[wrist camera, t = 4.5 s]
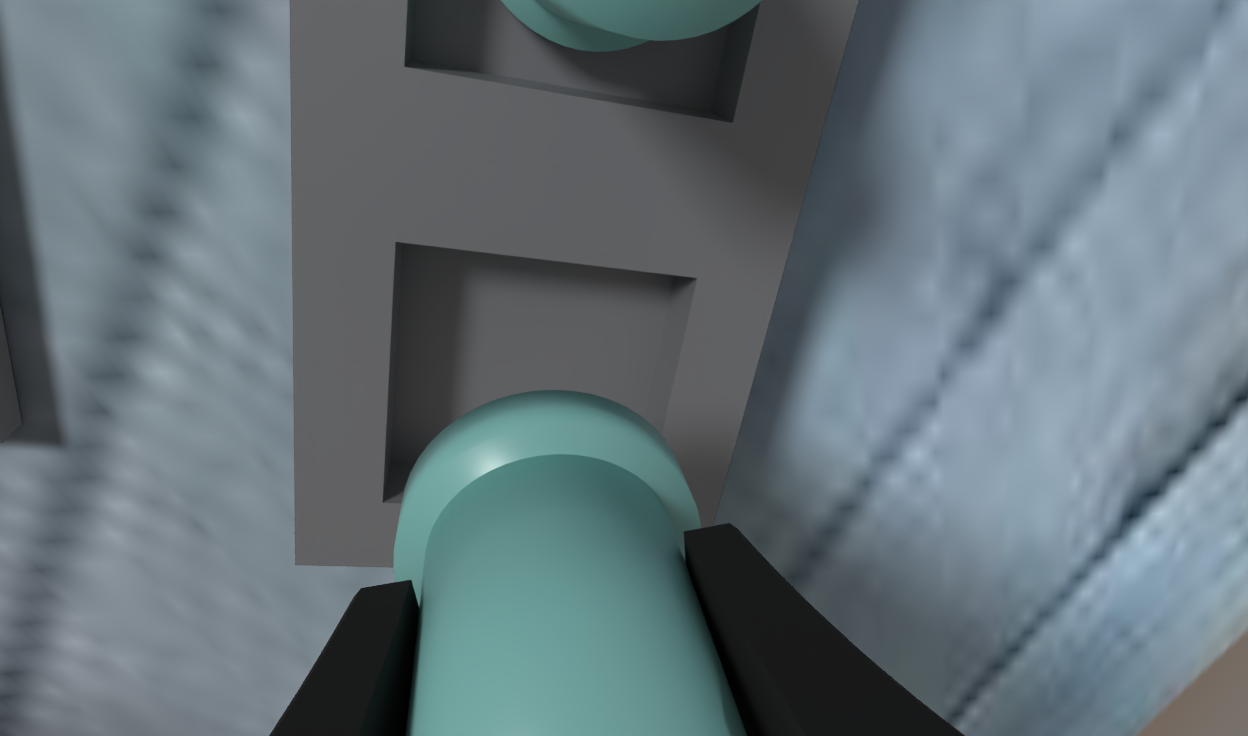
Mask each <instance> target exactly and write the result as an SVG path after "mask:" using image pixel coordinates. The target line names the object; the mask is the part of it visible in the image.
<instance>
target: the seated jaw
mask: <svg viewBox="0 0 1248 736" xmlns="http://www.w3.org/2000/svg"><path fill="white" fill-rule="evenodd" d="M500 1H501V2H502V3H503V4H504V6H505V7H506V8H507V9H508V10H509V11H510V12H511V13H512V14H513V15H514V16H515V17H516V18H517V19H518V20H520V21H521V22H522V23H524V24H525V25H526V26H527V27H529V28H530V29H531V30H533V31H535V32H536V33H538V34H540V35H541V36H543V37H545V38H547V39H548V40H551V41H553V42H555V43H558V44H560V45H563V46H566V47H570V48H574V49H577V50H583V51H592V52H608V51H617V50H622V49H628V48H631V47H634V46H637V45H640V44H643V43H645V42H647V41H649V40H655V41H664V40H680V39H686V38H691V37H697V36H700V35H703V34H706V33H709V32H712V31H715V30H717V29H719V28H721V27H723V26H725V25H727V24H729V23H731V22H733V21H735V20H736V19H738V18H739V17H741V16H742V15H744V14H745V13H747V12H748V11H750V10H751V9H752V8H754V7H755V6H756V5H757V4H758V3H759V2H761V1H762V0H500Z"/></svg>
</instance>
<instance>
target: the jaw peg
mask: <svg viewBox="0 0 1248 736" xmlns="http://www.w3.org/2000/svg"><path fill="white" fill-rule="evenodd" d="M700 528H701V522H700V518H699V514H698V510H697V506H696V504H695V501H694V499H693V496H692V494H691V492H690V489H689V487H688V484H687V482H686V480H685V477H684V475H683V472H682V470H681V468H680V465H679V463H678V461H677V459H676V456H675V454H674V452H673V450H672V449H671V447H670V446H669V444H668V443H667V441H666V439H665V438H664V437H663V436H662V435H661V434H660V433H659V431H658V430H657V429H656V428H655V427H654V426H653V425H652V424H650V423H649V422H648V421H647V420H646V419H644V418H643V417H642V416H640V415H639V414H637V413H636V412H634V411H632V410H631V409H629V408H628V407H626V406H623V405H621V404H619V403H617V402H615V401H612V400H610V399H607V398H603V397H600V396H597V395H593V394H589V393H583V392H577V391H568V390H540V391H530V392H524V393H519V394H513V395H510V396H506V397H503V398H500V399H496V400H493V401H491V402H489V403H486V404H484V405H482V406H479V407H477V408H475V409H473V410H471V411H470V412H468V413H466V414H465V415H463V416H461V417H459V418H458V419H456V420H455V421H454V422H452V423H451V424H450V425H449V426H447V427H446V428H445V429H443V430H442V431H441V432H440V433H439V434H438V435H437V436H436V437H435V438H434V439H433V440H432V441H431V442H430V443H429V444H428V446H427V447H426V448H425V450H424V451H423V452H422V454H421V455H420V456H419V458H418V459H417V461H416V463H415V465H414V467H413V469H412V470H411V472H410V475H409V477H408V480H407V483H406V486H405V488H404V493H403V499H402V504H401V510H400V516H399V522H398V528H397V534H396V540H395V546H394V566H393V567H394V574H395V580H396V582H400V581H406V580H412V584H413V587H414V591H415V594H416V598H417V601H418V605H419V615H418V624H417V634H416V643H415V652H414V661H413V670H412V680H411V689H410V698H409V707H408V716H407V726H406V735H405V736H747V733H746V731H745V728H744V725H743V722H742V719H741V717H740V714H739V711H738V708H737V705H736V703H735V700H734V697H733V694H732V691H731V689H730V686H729V683H728V680H727V677H726V674H725V672H724V669H723V666H722V663H721V660H720V658H719V655H718V652H717V649H716V646H715V644H714V641H713V638H712V635H711V632H710V630H709V627H708V624H707V621H706V618H705V615H704V613H703V610H702V607H701V604H700V601H699V599H698V596H697V593H696V590H695V587H694V585H693V582H692V579H691V576H690V573H689V571H688V568H687V565H686V562H685V546H684V531H688V530H694V529H700Z"/></svg>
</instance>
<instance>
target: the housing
mask: <svg viewBox="0 0 1248 736" xmlns="http://www.w3.org/2000/svg"><path fill="white" fill-rule="evenodd" d="M858 1H859V0H762V1H761V2H759V3H758V4H757V5H756V6H755V7H754V8H752V9H751V10H750V11H748V12H747V13H745V14H744V15H742V16H741V17H739V18H738V19H736V20H735V21H733V22H731V23H729V24H727V25H725V26H723V27H721V28H719V29H717V30H715V31H712V32H709V33H706V34H703V35H700V36H697V37H691V38H686V39H680V40H664V41H655V40H649V41H647V42H645V43H643V44H640V45H637V46H634V47H631V48H628V49H622V50H617V51H608V52H592V51H583V50H577V49H574V48H570V47H566V46H563V45H560V44H558V43H555V42H553V41H551V40H548V39H547V38H545V37H543V36H541V35H540V34H538V33H536V32H535V31H533V30H531V29H530V28H529V27H527V26H526V25H525V24H524V23H522V22H521V21H520V20H518V19H517V18H516V17H515V16H514V15H513V14H512V13H511V12H510V11H509V10H508V9H507V8H506V7H505V6H504V4H503V3H502V2H501V1H500V0H290V74H291V176H292V278H293V380H294V481H295V565H317V566H356V567H393V566H394V546H395V540H396V534H397V528H398V522H399V516H400V510H401V504H402V499H403V493H404V488H405V486H406V483H407V480H408V477H409V475H410V472H411V470H412V469H413V467H414V465H415V463H416V461H417V459H418V458H419V456H420V455H421V454H422V452H423V451H424V450H425V448H426V447H427V446H428V444H429V443H430V442H431V441H432V440H433V439H434V438H435V437H436V436H437V435H438V434H439V433H440V432H441V431H442V430H443V429H445V428H446V427H447V426H449V425H450V424H451V423H452V422H454V421H455V420H456V419H458V418H459V417H461V416H463V415H465V414H466V413H468V412H470V411H471V410H473V409H475V408H477V407H479V406H482V405H484V404H486V403H489V402H491V401H493V400H496V399H500V398H503V397H506V396H510V395H513V394H519V393H524V392H530V391H540V390H568V391H577V392H583V393H589V394H593V395H597V396H600V397H603V398H607V399H610V400H612V401H615V402H617V403H619V404H621V405H623V406H626V407H628V408H629V409H631V410H632V411H634V412H636V413H637V414H639V415H640V416H642V417H643V418H644V419H646V420H647V421H648V422H649V423H650V424H652V425H653V426H654V427H655V428H656V429H657V430H658V431H659V433H660V434H661V435H662V436H663V437H664V438H665V439H666V441H667V443H668V444H669V446H670V447H671V449H672V450H673V452H674V454H675V456H676V459H677V461H678V463H679V465H680V468H681V470H682V472H683V475H684V477H685V480H686V482H687V484H688V487H689V489H690V492H691V494H692V496H693V499H694V501H695V504H696V506H697V510H698V514H699V518H700V522H701V528H705V527H711V526H713V523H714V520H715V516H716V513H717V509H718V505H719V502H720V498H721V495H722V491H723V487H724V484H725V480H726V477H727V473H728V469H729V466H730V462H731V459H732V455H733V451H734V448H735V444H736V441H737V437H738V433H739V430H740V426H741V423H742V419H743V415H744V412H745V408H746V405H747V401H748V397H749V394H750V390H751V387H752V383H753V379H754V376H755V372H756V369H757V365H758V361H759V358H760V354H761V351H762V347H763V343H764V340H765V336H766V333H767V329H768V325H769V322H770V318H771V315H772V311H773V307H774V304H775V300H776V297H777V293H778V289H779V286H780V282H781V279H782V275H783V271H784V268H785V264H786V261H787V257H788V253H789V250H790V246H791V243H792V239H793V235H794V232H795V228H796V225H797V221H798V217H799V214H800V210H801V207H802V203H803V199H804V196H805V192H806V189H807V185H808V181H809V178H810V174H811V171H812V167H813V163H814V160H815V156H816V153H817V149H818V145H819V142H820V138H821V135H822V131H823V127H824V124H825V120H826V116H827V113H828V109H829V106H830V102H831V98H832V95H833V91H834V88H835V84H836V80H837V77H838V73H839V70H840V66H841V62H842V59H843V55H844V52H845V48H846V44H847V41H848V37H849V34H850V30H851V26H852V23H853V19H854V16H855V12H856V8H857V5H858Z"/></svg>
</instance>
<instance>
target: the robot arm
mask: <svg viewBox="0 0 1248 736" xmlns="http://www.w3.org/2000/svg"><path fill="white" fill-rule="evenodd" d="M684 546H685V562H686V565H687V568H688V571H689V573H690V576H691V579H692V582H693V585H694V587H695V590H696V593H697V596H698V599H699V601H700V604H701V607H702V610H703V613H704V615H705V618H706V621H707V624H708V627H709V630H710V632H711V635H712V638H713V641H714V644H715V646H716V649H717V652H718V655H719V658H720V660H721V663H722V666H723V669H724V672H725V674H726V677H727V680H728V683H729V686H730V689H731V691H732V694H733V697H734V700H735V703H736V705H737V708H738V711H739V714H740V717H741V719H742V722H743V725H744V728H745V731H746V733H747V736H965V735H963V734H962V733H961V732H959V731H958V730H957V729H955V728H954V727H953V726H951V725H950V724H949V723H948V722H946V721H945V720H944V719H942V718H941V717H940V716H938V715H937V714H936V713H935V712H933V711H932V710H931V709H930V708H928V707H927V706H926V705H925V704H923V703H922V702H921V701H920V700H918V699H917V698H916V697H915V696H913V695H912V694H911V693H910V692H909V691H907V690H906V689H905V688H904V687H903V686H901V685H900V684H899V683H898V682H897V681H895V680H894V679H893V678H892V677H891V676H889V675H888V674H887V673H886V672H885V671H883V670H882V669H881V668H880V667H879V666H877V665H876V664H875V663H874V662H873V661H872V660H871V659H869V658H868V657H867V656H866V655H865V654H864V653H863V652H861V651H860V650H859V649H858V648H857V647H856V646H855V645H854V644H852V643H851V642H850V641H849V640H848V639H847V638H846V637H845V636H844V635H843V634H842V633H841V632H839V631H838V630H837V629H836V628H835V627H834V626H833V625H832V624H831V623H830V622H829V621H828V620H826V619H825V618H824V617H823V616H822V615H821V614H820V613H819V612H818V611H817V610H816V609H815V608H814V607H813V606H812V605H811V604H809V603H808V602H807V601H806V600H805V599H804V598H803V597H802V596H801V595H800V594H799V593H798V592H797V591H796V590H795V589H794V588H793V587H792V586H791V585H790V584H789V583H788V582H787V581H786V580H785V579H784V578H783V577H782V576H781V575H780V574H779V573H778V572H777V571H776V570H775V569H774V567H773V566H772V565H771V564H770V563H769V562H768V561H767V560H766V559H765V558H764V557H763V556H762V555H761V554H760V553H759V552H758V551H757V550H756V548H755V547H754V546H753V545H752V544H751V543H750V542H749V541H748V540H747V539H746V538H745V536H744V535H743V534H742V533H741V532H740V531H739V530H738V529H737V528H736V527H734V526H733V525H731V524H730V523H728V524H722V525H717V526H711V527H705V528H700V529H694V530H688V531H684ZM418 615H419V605H418V601H417V598H416V594H415V591H414V587H413V584H412V580H406V581H400V582H394V583H389V584H383V585H377V586H372V587H366V588H361V589H360V590H359V592H358V593H357V594H356V595H355V596H354V598H353V599H352V601H351V603H350V605H349V606H348V608H347V610H346V612H345V613H344V615H343V617H342V618H341V620H340V622H339V624H338V625H337V627H336V629H335V630H334V632H333V634H332V636H331V637H330V639H329V641H328V642H327V644H326V646H325V647H324V649H323V651H322V652H321V654H320V656H319V658H318V659H317V661H316V662H315V664H314V666H313V667H312V669H311V671H310V672H309V674H308V676H307V677H306V679H305V681H304V682H303V684H302V685H301V687H300V689H299V690H298V692H297V693H296V695H295V697H294V698H293V700H292V701H291V703H290V704H289V706H288V707H287V709H286V711H285V712H284V714H283V715H282V717H281V718H280V720H279V721H278V723H277V725H276V726H275V728H274V729H273V731H272V732H271V734H270V735H269V736H405V735H406V726H407V716H408V707H409V698H410V689H411V680H412V670H413V661H414V652H415V643H416V634H417V624H418Z"/></svg>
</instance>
